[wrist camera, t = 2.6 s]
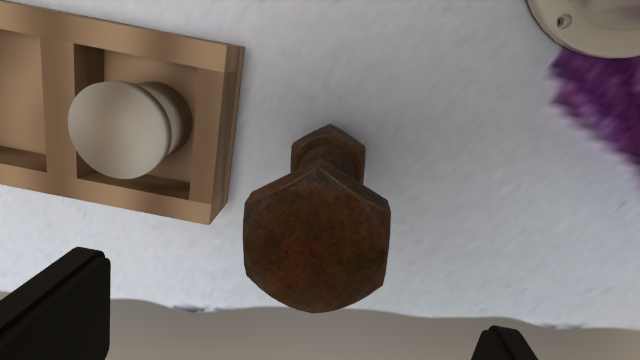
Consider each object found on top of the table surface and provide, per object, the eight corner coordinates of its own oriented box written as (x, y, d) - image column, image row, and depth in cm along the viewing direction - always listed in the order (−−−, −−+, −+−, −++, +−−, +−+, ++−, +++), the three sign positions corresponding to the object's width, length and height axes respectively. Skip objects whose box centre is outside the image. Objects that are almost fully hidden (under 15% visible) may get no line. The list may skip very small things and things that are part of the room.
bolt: (384, 141, 27) (428, 239, 13) (344, 197, 28) (344, 339, 14) (315, 96, 26) (279, 145, 12) (278, 155, 28) (208, 261, 13)
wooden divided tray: (244, 47, 25) (215, 44, 20) (227, 203, 29) (198, 238, 23) (-47, -10, 25) (-160, -29, 20) (-28, 153, 29) (-119, 176, 23)
